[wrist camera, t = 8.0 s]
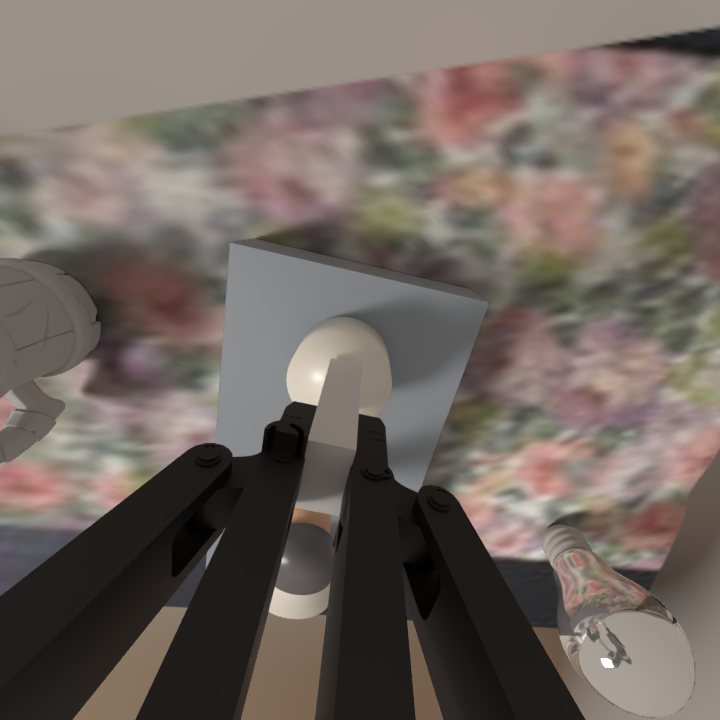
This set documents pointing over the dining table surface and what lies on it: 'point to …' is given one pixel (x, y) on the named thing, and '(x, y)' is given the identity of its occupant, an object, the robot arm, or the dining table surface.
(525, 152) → the dining table surface
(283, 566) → the ball
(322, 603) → the knob
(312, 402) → the knob
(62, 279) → the mug
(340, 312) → the panel
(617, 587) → the light bulb
